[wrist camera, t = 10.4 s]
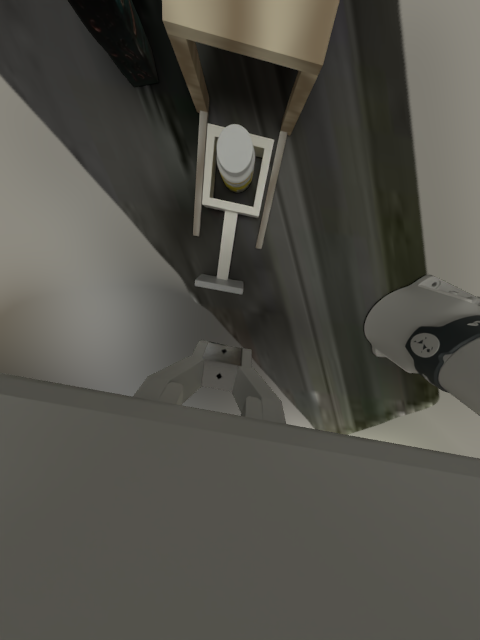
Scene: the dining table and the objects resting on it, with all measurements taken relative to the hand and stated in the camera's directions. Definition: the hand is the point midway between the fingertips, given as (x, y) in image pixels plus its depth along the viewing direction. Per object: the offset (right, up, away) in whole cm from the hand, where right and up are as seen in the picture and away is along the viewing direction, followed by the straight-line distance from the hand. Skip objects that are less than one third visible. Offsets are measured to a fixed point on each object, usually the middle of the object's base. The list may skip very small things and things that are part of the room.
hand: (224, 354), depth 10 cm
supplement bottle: (+1, +24, +16) cm, 29 cm away
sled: (-1, +18, +19) cm, 26 cm away
